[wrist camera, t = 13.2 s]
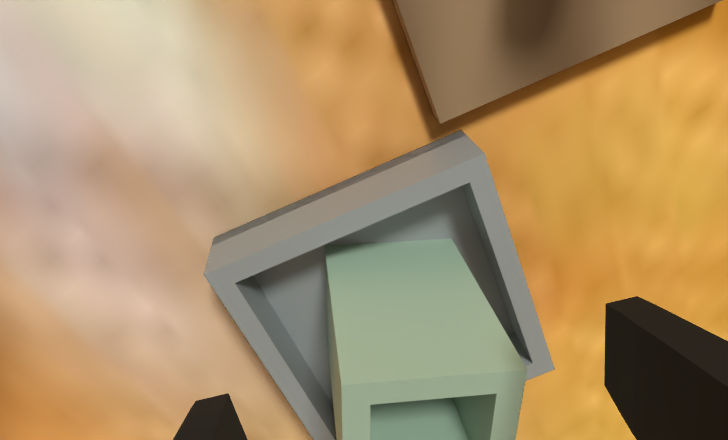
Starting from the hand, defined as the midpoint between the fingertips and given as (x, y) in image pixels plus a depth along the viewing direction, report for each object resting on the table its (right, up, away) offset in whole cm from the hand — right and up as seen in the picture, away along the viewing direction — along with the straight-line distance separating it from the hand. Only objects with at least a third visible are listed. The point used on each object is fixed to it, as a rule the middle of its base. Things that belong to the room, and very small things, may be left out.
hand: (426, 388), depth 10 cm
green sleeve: (0, 0, +10) cm, 10 cm away
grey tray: (0, +1, +11) cm, 11 cm away
